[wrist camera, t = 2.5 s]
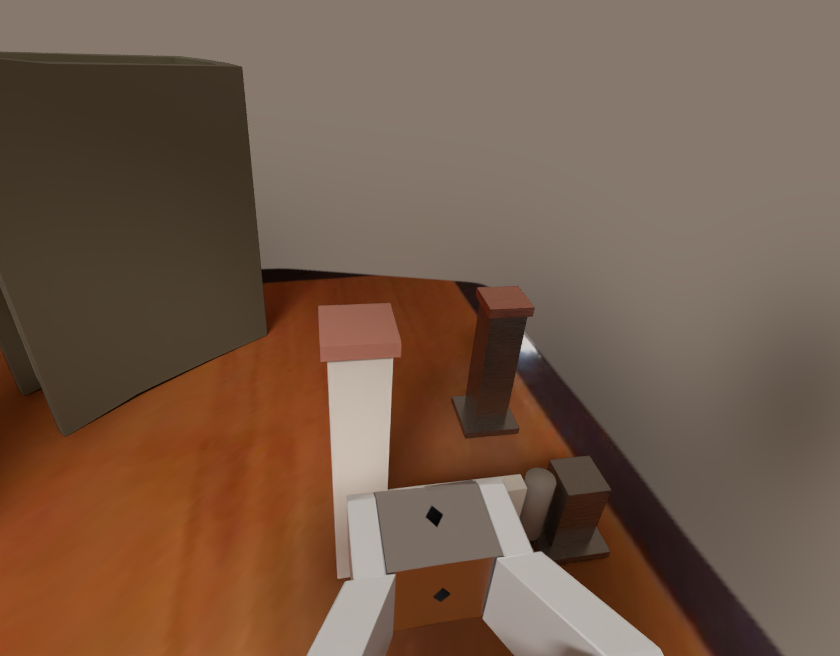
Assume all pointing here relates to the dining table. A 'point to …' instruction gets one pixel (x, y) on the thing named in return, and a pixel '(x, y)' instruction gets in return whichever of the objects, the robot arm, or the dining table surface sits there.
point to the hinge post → (574, 512)
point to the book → (122, 224)
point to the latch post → (493, 362)
